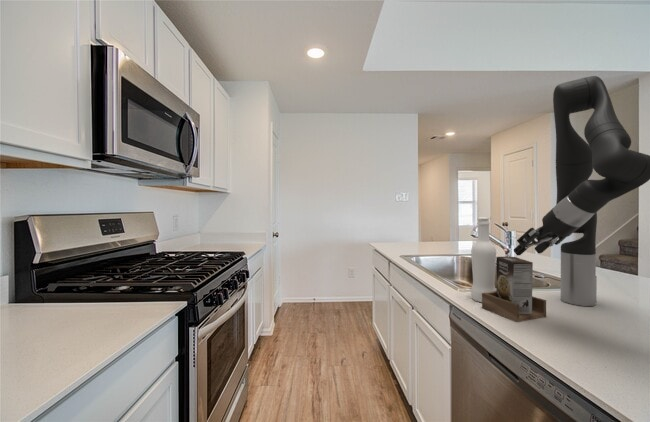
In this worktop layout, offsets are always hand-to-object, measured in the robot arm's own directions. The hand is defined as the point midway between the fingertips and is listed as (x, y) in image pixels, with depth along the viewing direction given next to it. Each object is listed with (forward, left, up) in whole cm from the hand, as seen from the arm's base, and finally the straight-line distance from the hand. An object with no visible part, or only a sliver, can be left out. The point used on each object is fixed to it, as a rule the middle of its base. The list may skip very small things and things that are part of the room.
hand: (526, 252), depth 89 cm
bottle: (-1, -17, -20) cm, 26 cm away
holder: (0, -5, -20) cm, 21 cm away
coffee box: (0, -5, -19) cm, 20 cm away
